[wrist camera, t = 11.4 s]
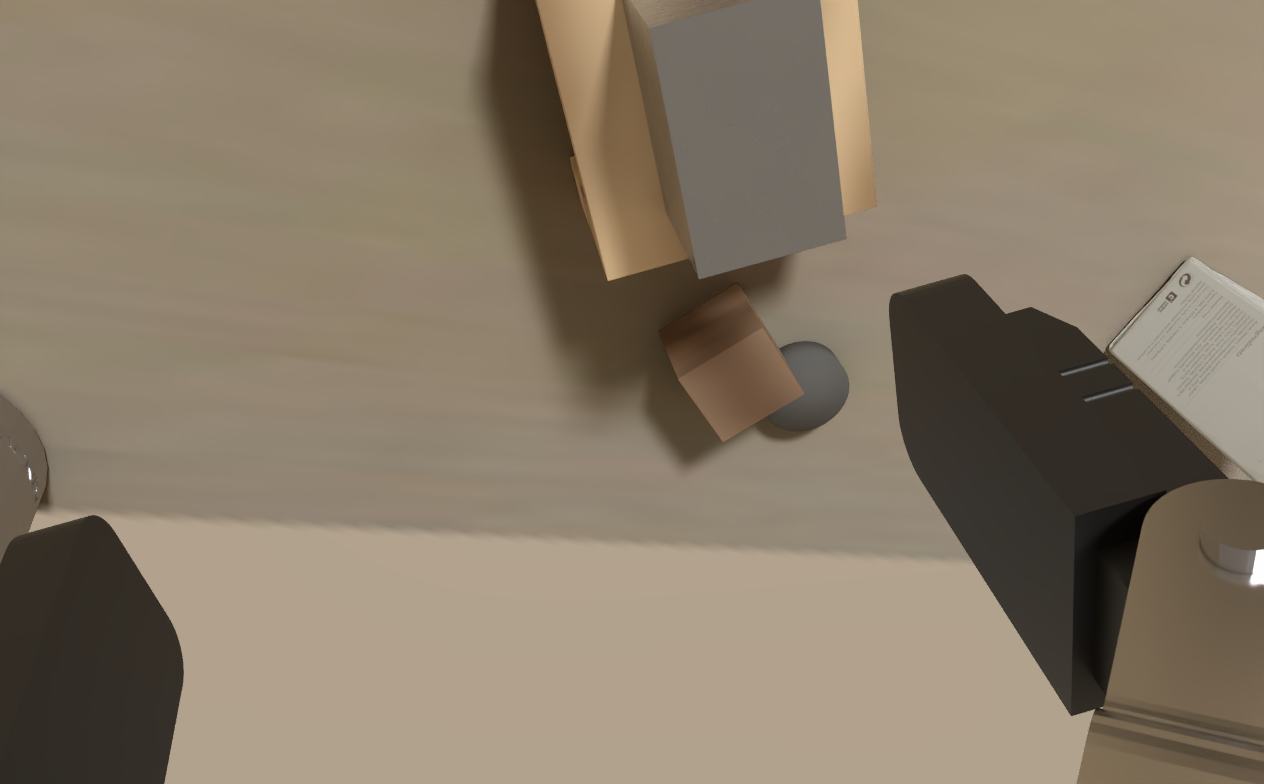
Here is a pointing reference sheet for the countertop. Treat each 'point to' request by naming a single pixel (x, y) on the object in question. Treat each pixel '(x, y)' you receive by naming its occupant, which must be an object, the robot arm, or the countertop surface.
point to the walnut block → (729, 363)
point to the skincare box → (1204, 359)
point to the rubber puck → (812, 387)
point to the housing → (739, 126)
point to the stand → (620, 140)
